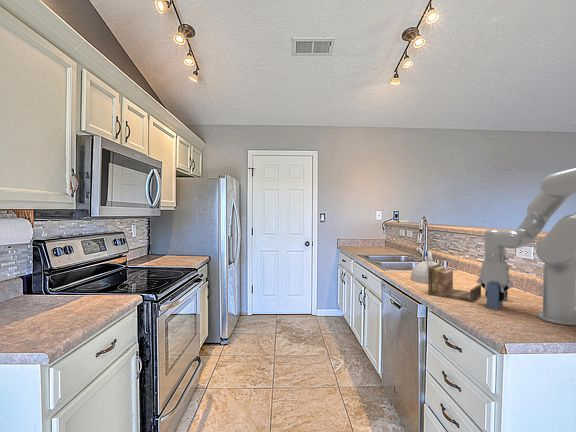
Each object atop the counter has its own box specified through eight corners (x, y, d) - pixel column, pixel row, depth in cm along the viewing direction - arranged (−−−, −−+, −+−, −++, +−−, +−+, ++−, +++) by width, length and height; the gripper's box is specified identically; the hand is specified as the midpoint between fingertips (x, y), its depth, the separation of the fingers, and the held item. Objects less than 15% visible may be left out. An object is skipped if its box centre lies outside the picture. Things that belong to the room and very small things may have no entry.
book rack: (480, 296, 156) (481, 268, 156) (473, 302, 146) (473, 272, 146) (437, 289, 170) (438, 264, 170) (428, 294, 160) (428, 267, 160)
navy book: (502, 304, 143) (502, 282, 143) (497, 309, 135) (497, 285, 135) (491, 302, 145) (491, 280, 145) (486, 307, 138) (486, 284, 138)
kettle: (411, 283, 186) (412, 252, 186) (409, 276, 206) (409, 248, 206) (450, 285, 180) (450, 253, 180) (444, 278, 200) (444, 249, 200)
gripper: (519, 259, 137) (519, 301, 137) (475, 255, 149) (475, 295, 149) (516, 260, 132) (516, 305, 132) (470, 257, 143) (471, 298, 143)
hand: (494, 299), depth 140 cm, fingers closed on navy book, 4 cm apart
